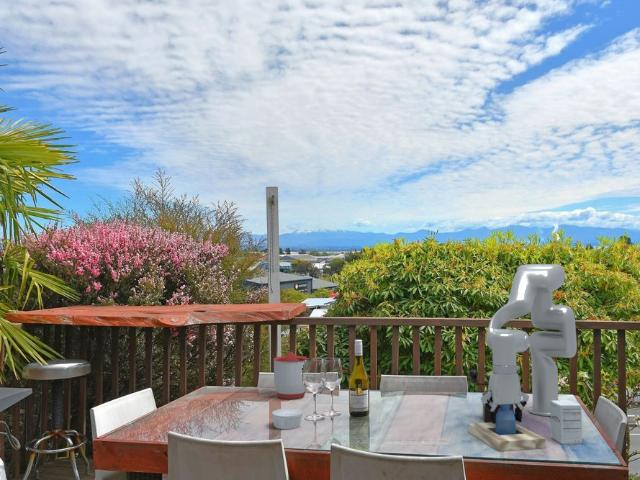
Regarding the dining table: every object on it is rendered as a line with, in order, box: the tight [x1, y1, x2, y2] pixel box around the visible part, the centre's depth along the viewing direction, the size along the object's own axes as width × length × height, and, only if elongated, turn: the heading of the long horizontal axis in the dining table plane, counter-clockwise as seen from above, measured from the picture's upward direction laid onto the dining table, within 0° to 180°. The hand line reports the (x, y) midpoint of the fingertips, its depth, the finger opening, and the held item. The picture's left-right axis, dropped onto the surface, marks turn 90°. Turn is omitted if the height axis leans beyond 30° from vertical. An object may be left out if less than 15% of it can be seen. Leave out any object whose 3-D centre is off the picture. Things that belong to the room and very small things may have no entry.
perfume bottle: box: [495, 404, 517, 435], centre depth 205 cm, size 6×6×12 cm
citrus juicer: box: [273, 351, 308, 400], centre depth 272 cm, size 16×17×20 cm
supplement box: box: [550, 399, 583, 445], centre depth 203 cm, size 7×7×13 cm
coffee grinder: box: [467, 369, 515, 423], centre depth 230 cm, size 16×11×18 cm
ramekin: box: [271, 407, 303, 431], centre depth 223 cm, size 11×11×5 cm
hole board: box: [468, 422, 546, 452], centre depth 204 cm, size 16×22×3 cm
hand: (505, 421), depth 205 cm, fingers closed on perfume bottle, 8 cm apart
